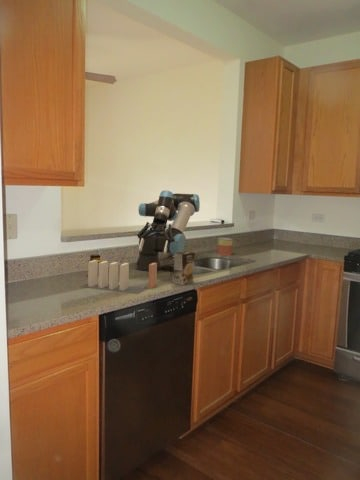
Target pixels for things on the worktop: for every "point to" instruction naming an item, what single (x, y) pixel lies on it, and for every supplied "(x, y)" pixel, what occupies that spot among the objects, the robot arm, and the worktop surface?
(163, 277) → the worktop surface
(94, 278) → the domino
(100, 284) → the domino
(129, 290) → the mat
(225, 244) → the canned food
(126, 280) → the domino
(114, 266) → the domino
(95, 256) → the condiment
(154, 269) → the domino
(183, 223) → the robot arm
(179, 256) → the coffee box
